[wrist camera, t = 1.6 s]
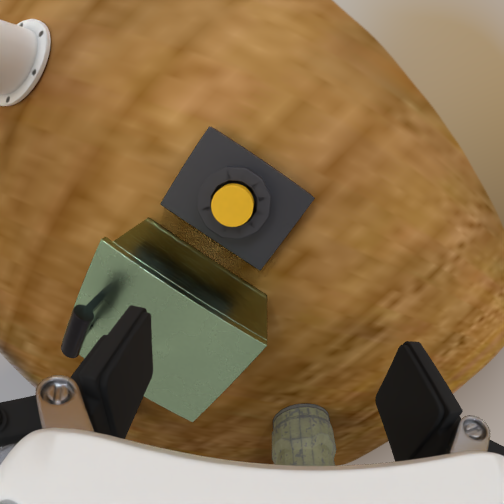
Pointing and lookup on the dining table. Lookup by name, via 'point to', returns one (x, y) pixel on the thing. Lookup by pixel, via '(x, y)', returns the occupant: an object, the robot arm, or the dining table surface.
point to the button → (232, 205)
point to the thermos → (303, 437)
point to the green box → (197, 275)
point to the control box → (249, 175)
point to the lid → (162, 331)
